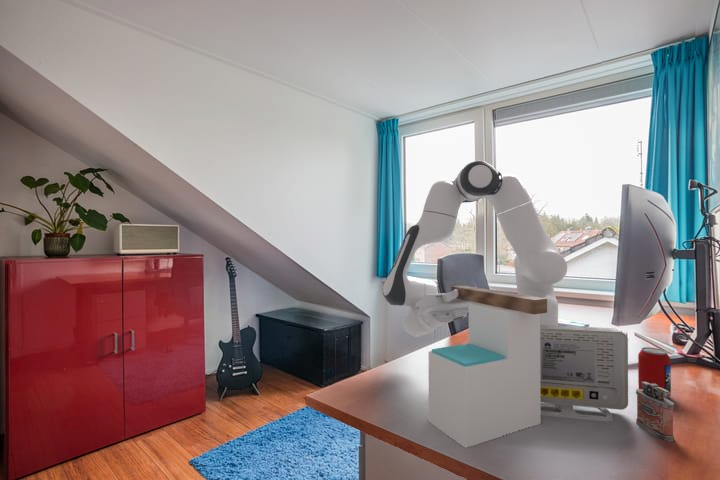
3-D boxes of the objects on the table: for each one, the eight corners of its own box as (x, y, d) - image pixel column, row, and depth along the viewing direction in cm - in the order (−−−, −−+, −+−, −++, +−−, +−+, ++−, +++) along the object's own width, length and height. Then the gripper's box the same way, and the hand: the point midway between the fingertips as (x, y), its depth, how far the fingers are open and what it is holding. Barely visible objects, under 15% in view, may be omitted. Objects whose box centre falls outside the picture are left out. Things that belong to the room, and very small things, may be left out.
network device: (616, 406, 91) (616, 326, 91) (634, 423, 83) (633, 335, 83) (507, 397, 97) (506, 321, 97) (512, 412, 88) (512, 329, 89)
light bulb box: (590, 352, 135) (590, 323, 135) (583, 356, 131) (583, 326, 131) (559, 346, 144) (559, 318, 144) (552, 349, 139) (552, 321, 139)
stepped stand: (428, 421, 84) (428, 307, 84) (499, 402, 94) (498, 300, 94) (465, 448, 73) (464, 317, 73) (540, 423, 83) (540, 308, 83)
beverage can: (677, 401, 94) (676, 354, 94) (647, 399, 95) (646, 353, 95) (661, 391, 101) (660, 347, 101) (633, 389, 102) (633, 346, 102)
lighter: (631, 422, 84) (631, 378, 84) (645, 421, 84) (645, 377, 84) (664, 441, 76) (663, 392, 76) (679, 440, 76) (679, 392, 76)
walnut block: (451, 297, 100) (451, 286, 100) (462, 296, 101) (462, 285, 101) (534, 314, 76) (534, 300, 76) (547, 312, 78) (547, 298, 78)
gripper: (405, 302, 105) (430, 282, 94) (461, 297, 114) (490, 278, 103) (411, 323, 102) (438, 305, 91) (468, 317, 111) (499, 299, 100)
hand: (466, 291), depth 97 cm, fingers closed on walnut block, 4 cm apart
